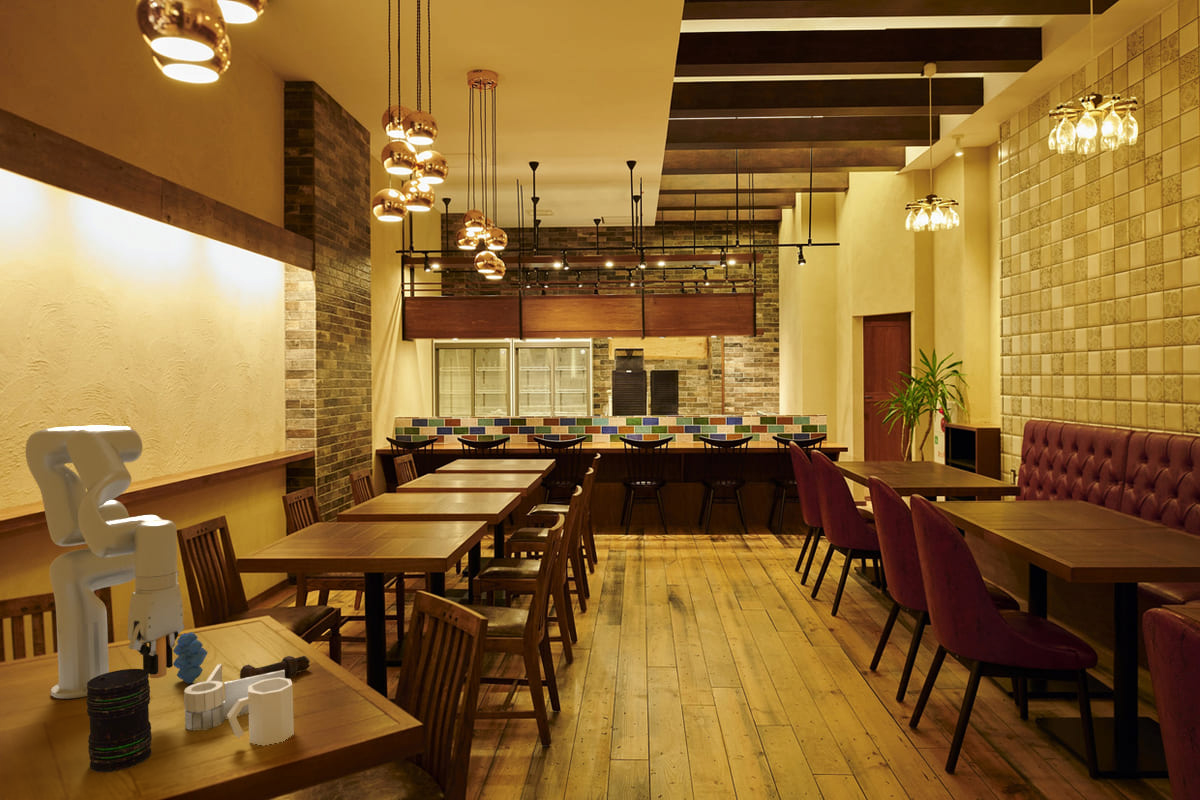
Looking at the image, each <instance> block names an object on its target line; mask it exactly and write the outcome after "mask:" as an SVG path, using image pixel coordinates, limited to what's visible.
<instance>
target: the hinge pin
mask: <svg viewBox="0 0 1200 800" xmlns="http://www.w3.org/2000/svg"><path fill="white" fill-rule="evenodd" d="M155 654H158V673H157V674H155V675H153V674H149V678H151V679H160V678H163V677H165V676H166V675H167V674H168V673H167V669H168V668H166V636H163V637H161V638H158V639H156V652H155Z"/></svg>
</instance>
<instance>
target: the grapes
mask: <svg viewBox="0 0 1200 800" xmlns="http://www.w3.org/2000/svg"><path fill="white" fill-rule="evenodd" d="M178 637H179V638H177V640H176V643H177V645H176V644H175V646H174V647H173V649H172V653H174V654H175V655H176V656H177V657H176V658H175V660H174V661H173V666H174V667H175V668H176V669H179V670H178V672H177V674H176V676H177V678H179V679H180V680H182V681H183V682H184V683H186V684H188V685H189V684H191V685H192V684H193V683H194V682H195V681H196V679H198V678H199V677H200V676H201V675H202V672H203V668H202V667H201V665H202V664H203V662H204V661H205V659H206V657H207V655H208V654H209V653H208V651H207V650H206V649H205V648H204V647H203V646H204V644H203V643H202V642H201V641H200V640H199V639H198V636H197V634H196V633H195V632H192V631H190V632H188V633H183V634H181V635H180V636H178Z"/></svg>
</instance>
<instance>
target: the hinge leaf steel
mask: <svg viewBox="0 0 1200 800" xmlns="http://www.w3.org/2000/svg"><path fill="white" fill-rule="evenodd" d="M278 677H280V678H286V677H285V671H284V670H281V671H276V672H271V673H266V674H262V675H257V676H252V677H247V678H243V679H240V678H239V679H235V680H229V681H224V682H223V690H224V702H223V703H222V704H221V705H220V706H218V707H216V708H213V709H210V710H205V711H199V712H196V711H195V712H191V711H187V710H186V709H185V708H184V719H185V720H184V726H185V729H186V730H187V729H188V730H187V731H192V730H193V731H192V732H196V731H195V730H202V729H203V730H202V731H206V730H210V729H209V728H211V729H212V727H214V728H216V727H218V726H220V725H221V724H220V723H222V724H223V723H224V722H225V720H226V719H225V718H228V717H227V714H228V713H229V711H230V710H231V709H232V707H233V706H234V705H235V703H236V702H237V701H238V699H242V698H246V697H248V686H250V685H252V684H254V683H256V682H259V681H261V680H265V679H271V678H278ZM246 713H249V709H248V705H244V706H243V707H242V709H241V711H240V712H239V714H238V715H241V716H243V715H242V714H246ZM246 715H247V714H246ZM219 724H220V725H219ZM217 725H218V726H217ZM215 726H216V727H215ZM205 729H206V730H205Z"/></svg>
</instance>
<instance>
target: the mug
mask: <svg viewBox="0 0 1200 800" xmlns="http://www.w3.org/2000/svg"><path fill="white" fill-rule="evenodd" d="M293 689H294V688H293V682H292V680H291V678H287V677H285V678H280V677H278V678H271V679H265V680H261V681H259V682H256V683H254V684H252V685H250V686H248V697H246V698H242V699H238V701H237V702H236V703H235V705H234V706H233V707H232V709H231V710H230V711H229V713H228V714H227V717H228V719H227V720H228V722H229V724H230V727H231V729H232V732H233V734H234V736H236V737H237V738H238V739H239V738H241V737H242V736H244V735H245V733H244V731H243V729H242V727H241V725H240V723H239V720H238V719H237V717H238V716H237V715H238V714H239V712H240V711H241V709H242V707H243V706H244V705H248V709H249V714H248V734H249V735H248V736H249V737H248V738H249V739H248V740H249V744H250V743H253V744H252V745H255V744H257V745H256V746H259V745H262V746H261V747H266V746H265V745H267V746H270V745H269V744H272V745H275V744H274V743H277V744H280V743H279V742H282V743H284V742H286V741H287V740H289V739H290V738H292V737H293V736H294V735H295V730H294V728H295V727H294V725H295V723H294V722H295V721H294V698H293V697H294V696H293V693H294V692H293ZM292 735H293V736H292ZM291 736H292V737H291ZM289 737H290V738H289ZM288 738H289V739H288ZM286 739H287V740H286ZM285 740H286V741H285ZM283 741H284V742H283Z"/></svg>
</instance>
